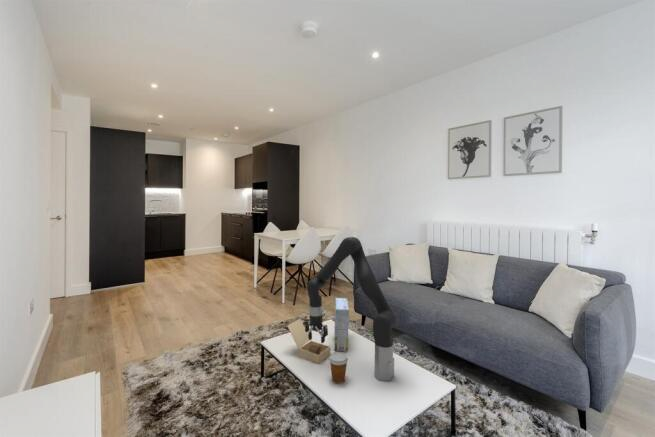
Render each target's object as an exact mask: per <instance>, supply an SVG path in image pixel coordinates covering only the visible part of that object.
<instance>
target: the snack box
mask: <svg viewBox="0 0 655 437" xmlns="http://www.w3.org/2000/svg"><path fill="white" fill-rule="evenodd" d="M334 303H335V308H334V310H335V311H334V351H335V352H348V350H349V320H350V319H349V317H350V315H349V314H350V311H349V310H350V308H349V302H348V298H345V297H342V298H341V297H335V302H334Z"/></svg>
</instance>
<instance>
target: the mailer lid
mask: <svg viewBox="0 0 655 437" xmlns="http://www.w3.org/2000/svg"><path fill="white" fill-rule="evenodd" d="M286 327H287V328H288V330H289V332H290V334H291V337H292V339H293V341H294V342H295V344H296V346H297V349H299V348H301V347H302V346H304V345H305V344H307V343H308V342H310V341H311V340H309V338H308V332H305V324H304V323H303V321H302V319H301V318H299V319H296V320H295V321H293V322H291V323H290V324H288V325H286Z"/></svg>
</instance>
